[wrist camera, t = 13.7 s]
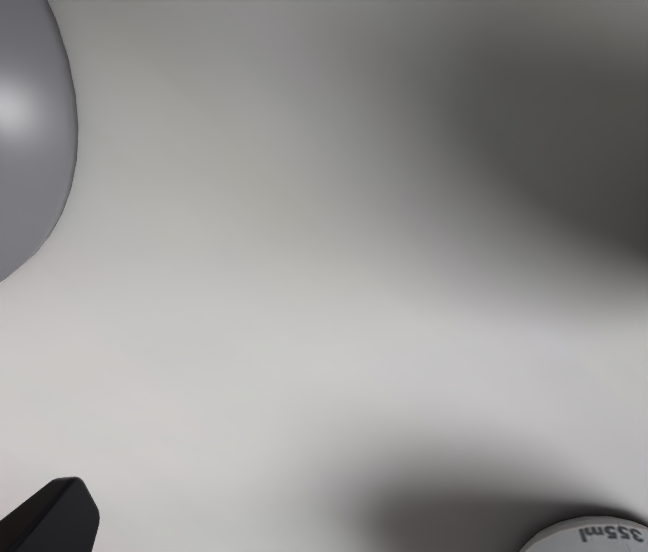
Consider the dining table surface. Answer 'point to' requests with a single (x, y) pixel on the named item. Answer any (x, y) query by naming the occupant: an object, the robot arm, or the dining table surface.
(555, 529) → the decorated jar
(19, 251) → the charcoal plate
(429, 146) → the dining table surface
